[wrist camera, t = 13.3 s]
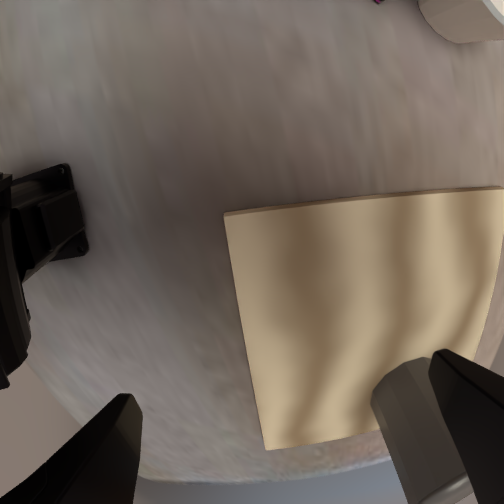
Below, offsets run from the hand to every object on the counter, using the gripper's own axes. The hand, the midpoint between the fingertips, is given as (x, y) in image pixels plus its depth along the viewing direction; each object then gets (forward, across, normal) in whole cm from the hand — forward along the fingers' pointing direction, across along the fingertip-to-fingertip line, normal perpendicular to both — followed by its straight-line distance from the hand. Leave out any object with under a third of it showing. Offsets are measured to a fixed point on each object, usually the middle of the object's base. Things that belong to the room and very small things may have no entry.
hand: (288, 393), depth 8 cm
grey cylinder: (+12, -12, +16) cm, 23 cm away
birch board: (+13, -9, +10) cm, 19 cm away
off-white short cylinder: (+13, -16, -16) cm, 26 cm away
